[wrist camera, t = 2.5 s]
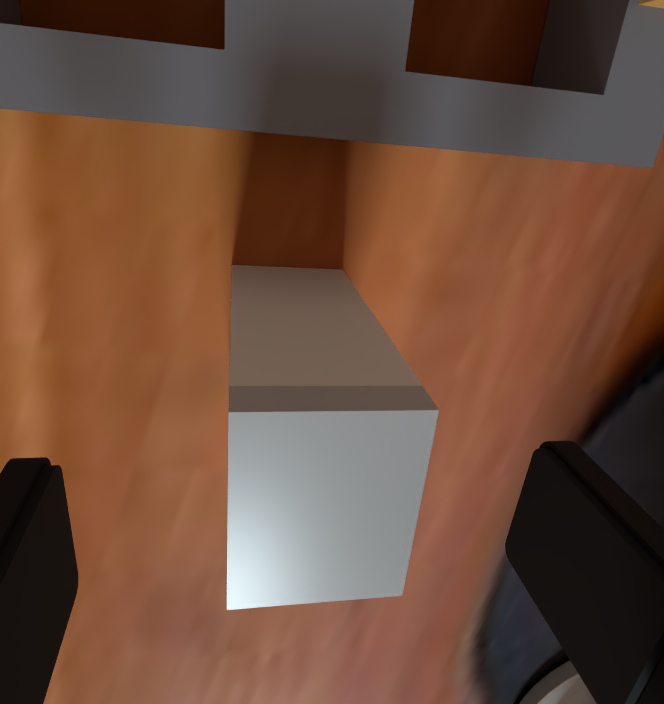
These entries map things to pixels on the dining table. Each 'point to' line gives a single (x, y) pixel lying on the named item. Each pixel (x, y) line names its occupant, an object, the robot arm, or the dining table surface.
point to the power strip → (361, 80)
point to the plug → (319, 443)
